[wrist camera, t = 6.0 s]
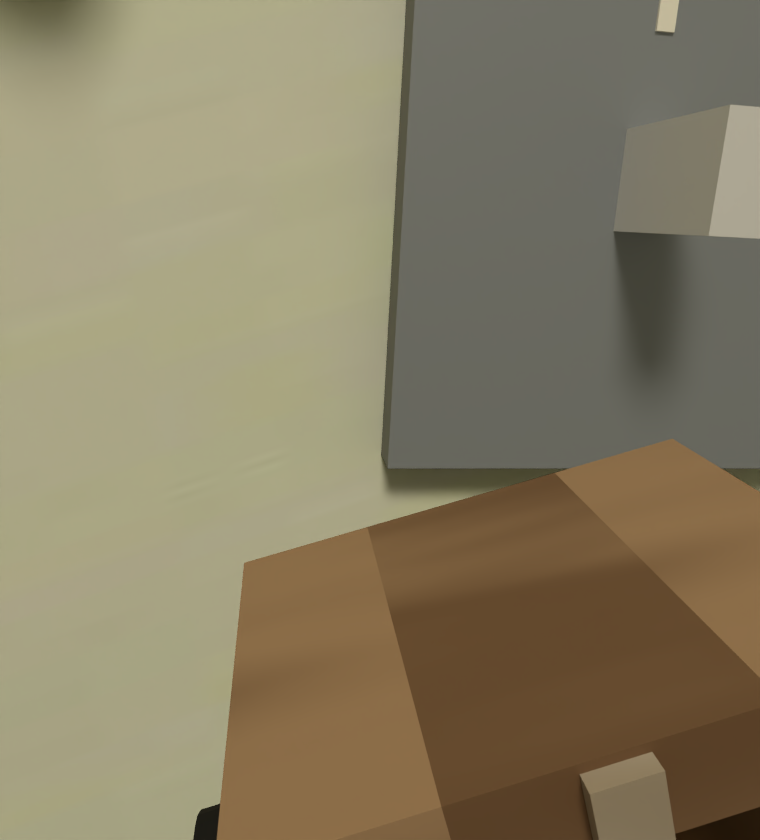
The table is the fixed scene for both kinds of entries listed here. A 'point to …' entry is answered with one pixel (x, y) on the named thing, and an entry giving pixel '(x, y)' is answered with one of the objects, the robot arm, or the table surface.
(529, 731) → the open wooden cubby
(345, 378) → the table surface
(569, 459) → the plate
